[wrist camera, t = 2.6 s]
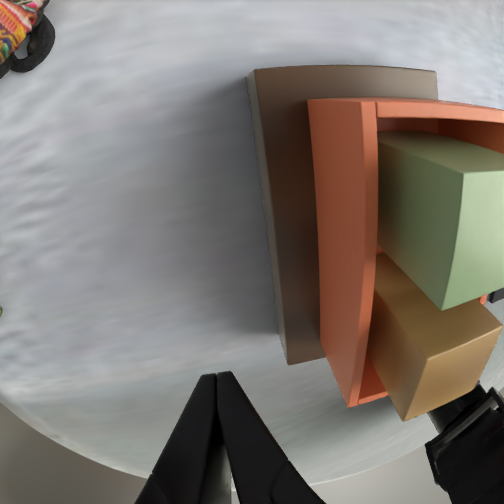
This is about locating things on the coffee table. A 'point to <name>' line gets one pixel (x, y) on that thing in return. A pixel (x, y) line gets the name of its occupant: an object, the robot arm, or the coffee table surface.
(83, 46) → the coffee table surface
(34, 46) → the figurine
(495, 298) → the mat
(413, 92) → the stand
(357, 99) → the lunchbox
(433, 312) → the beech block
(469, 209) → the sage block
